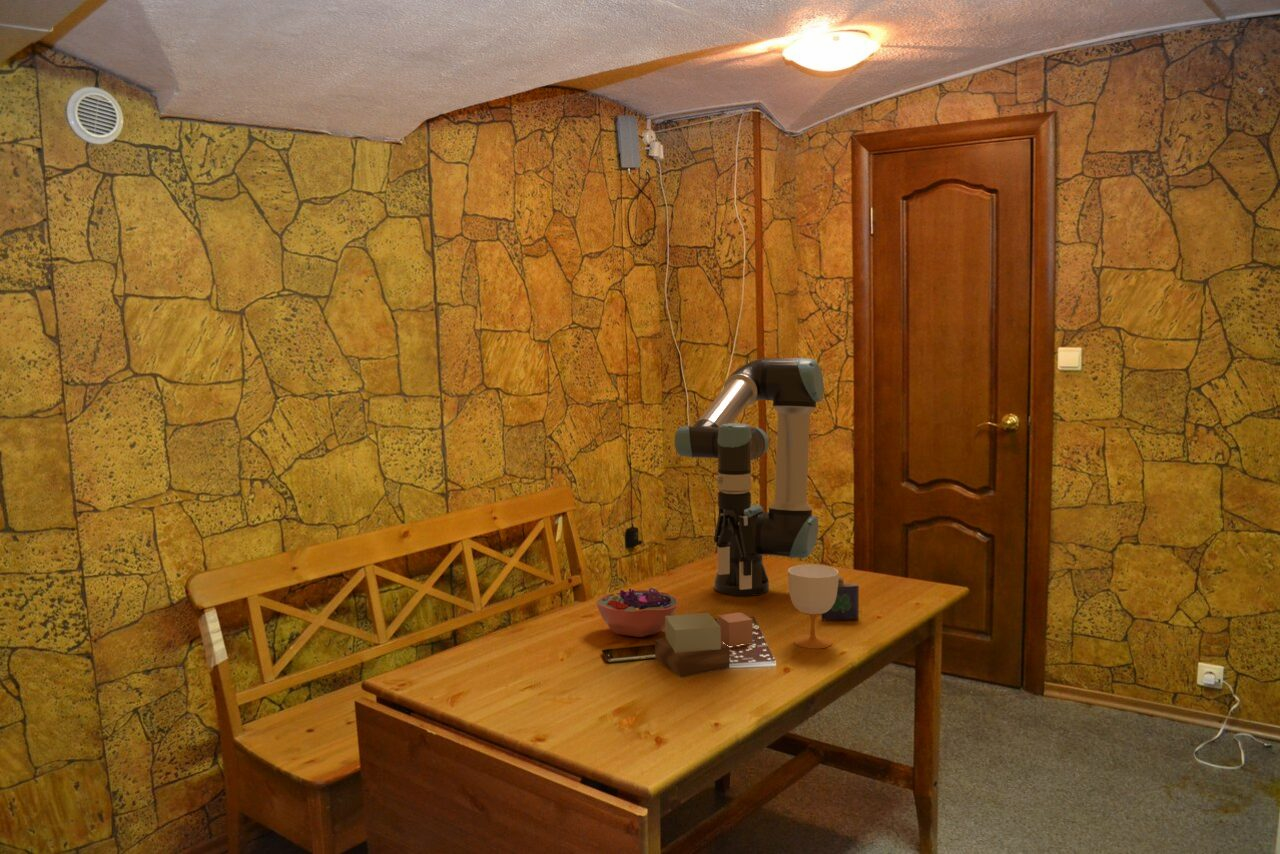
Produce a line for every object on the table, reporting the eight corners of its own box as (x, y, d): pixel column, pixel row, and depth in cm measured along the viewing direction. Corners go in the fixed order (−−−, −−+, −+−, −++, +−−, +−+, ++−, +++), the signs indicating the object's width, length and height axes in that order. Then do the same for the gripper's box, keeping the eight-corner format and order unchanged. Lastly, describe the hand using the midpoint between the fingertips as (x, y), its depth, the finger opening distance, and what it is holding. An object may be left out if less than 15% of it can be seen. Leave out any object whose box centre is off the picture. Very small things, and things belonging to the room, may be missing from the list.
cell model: (606, 620, 235) (605, 577, 234) (684, 624, 231) (683, 580, 230) (589, 643, 219) (587, 596, 217) (672, 647, 215) (672, 600, 213)
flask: (857, 617, 234) (857, 576, 233) (859, 621, 231) (860, 579, 230) (820, 617, 235) (820, 576, 233) (822, 621, 232) (822, 579, 230)
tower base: (655, 661, 207) (654, 639, 207) (701, 652, 212) (701, 631, 212) (681, 679, 197) (680, 656, 196) (729, 669, 202) (729, 647, 201)
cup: (848, 641, 217) (848, 569, 215) (820, 654, 208) (821, 580, 207) (805, 630, 225) (805, 561, 223) (777, 643, 216) (777, 571, 215)
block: (718, 640, 220) (717, 615, 219) (740, 636, 222) (740, 612, 221) (729, 648, 214) (729, 622, 213) (752, 644, 216) (752, 619, 215)
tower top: (665, 637, 208) (665, 616, 207) (708, 634, 210) (708, 612, 209) (675, 653, 198) (675, 630, 198) (720, 649, 200) (720, 626, 199)
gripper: (700, 483, 225) (701, 569, 227) (739, 501, 201) (739, 596, 203) (729, 481, 227) (729, 567, 229) (771, 499, 203) (771, 593, 205)
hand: (734, 581), depth 216 cm, fingers open, 13 cm apart
